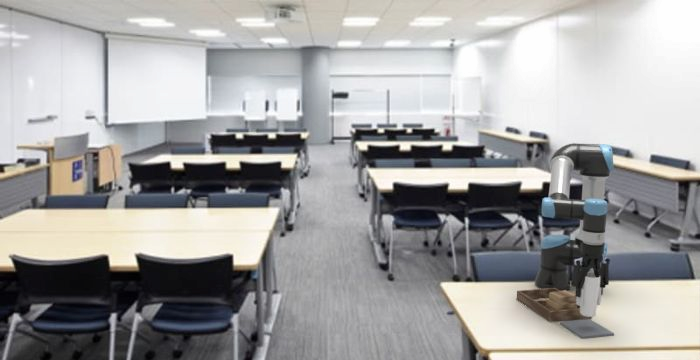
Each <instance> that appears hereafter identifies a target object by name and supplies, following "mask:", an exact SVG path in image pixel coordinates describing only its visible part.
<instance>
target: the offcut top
mask: <svg viewBox="0 0 700 360" xmlns="http://www.w3.org/2000/svg"><path fill="white" fill-rule="evenodd" d="M548 299H549V300H550V301H552V302H554V303H556V304H558V305H565V304H571V303H576V300H577V296H576V295H575V293H572V292H570V291H569V290H568V291H566V290H564V291H557V292H550V293H549V298H548Z"/></svg>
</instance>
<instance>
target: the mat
mask: <svg viewBox="0 0 700 360" xmlns="http://www.w3.org/2000/svg"><path fill="white" fill-rule="evenodd" d="M559 325H560V326H562V327H564V328H565V329H567V330H568V331H570V332H571V333H573V334H574V335H575V336H578V337H579V338H580V339H584V340H585V339H591V338H592V339H593V338H600V337H601V338H602V337H611V336H615V332H613V331H611V330H610V329H607V328H605V326H603V325H601V324H599V323H598V322H596V321H594V320H592V318H589V319H578V320H567V321H559Z"/></svg>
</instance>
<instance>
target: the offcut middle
mask: <svg viewBox="0 0 700 360" xmlns="http://www.w3.org/2000/svg"><path fill="white" fill-rule="evenodd" d="M545 300H546V307H548V308H550V309H552V310H554V311H555V310H566V309H577V304H576V303H571V304H565V305H558V304H556V303H554V302H552V301H550V300H549V298H545Z"/></svg>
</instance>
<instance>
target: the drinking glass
mask: <svg viewBox="0 0 700 360" xmlns="http://www.w3.org/2000/svg"><path fill="white" fill-rule="evenodd" d="M582 288H583V289H584V297H583V307H581V306H580V314H581V315H583V316H586V317H592V318H593V317H595V316H596V314H597V313H596V312H597V306H598V305H597V301H598V295H599V290H600V275H599V277H595V274H594V272H590V271H589V272H588V274H587V276H585V281H584V284H583V287H582Z"/></svg>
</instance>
